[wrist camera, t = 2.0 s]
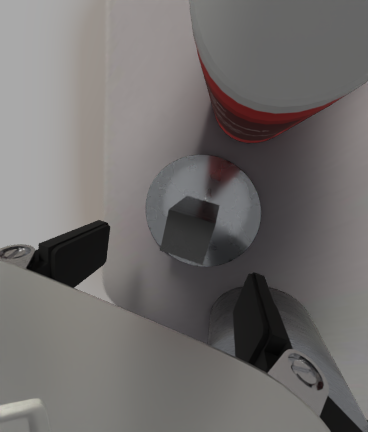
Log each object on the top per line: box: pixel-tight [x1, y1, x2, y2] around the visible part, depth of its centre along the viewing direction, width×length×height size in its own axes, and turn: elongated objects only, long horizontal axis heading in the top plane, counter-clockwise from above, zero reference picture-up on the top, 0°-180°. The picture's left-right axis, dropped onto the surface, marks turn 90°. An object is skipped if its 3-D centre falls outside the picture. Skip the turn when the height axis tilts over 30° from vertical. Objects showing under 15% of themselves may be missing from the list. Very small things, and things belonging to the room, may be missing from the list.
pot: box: [207, 287, 368, 432], centre depth 17 cm, size 12×17×9 cm
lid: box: [146, 155, 261, 267], centre depth 16 cm, size 13×13×7 cm
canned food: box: [189, 0, 368, 143], centre depth 10 cm, size 8×8×11 cm
